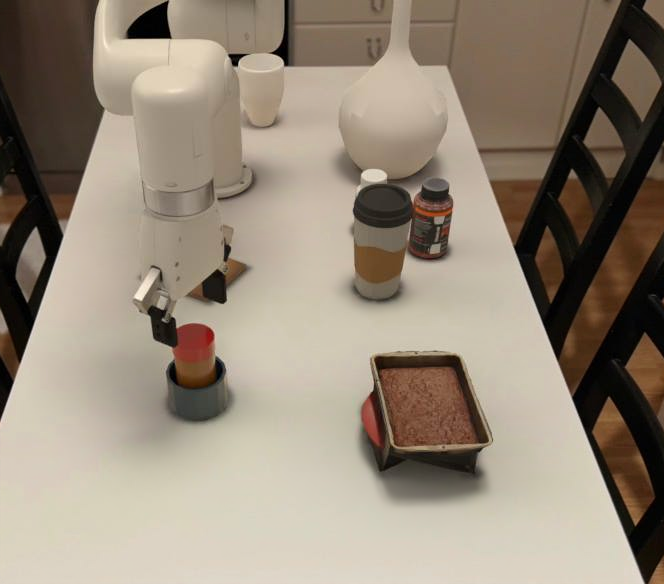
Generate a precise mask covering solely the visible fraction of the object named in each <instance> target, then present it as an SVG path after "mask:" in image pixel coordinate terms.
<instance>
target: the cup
mask: <svg viewBox="0 0 664 584" xmlns="http://www.w3.org/2000/svg"><path fill="white" fill-rule="evenodd" d="M215 360H216V374H217V382H216V383H215V384H213V385H211V386H209V387H206V388H201V389H186V388H183V387H180V386H178V385H177V379H176V370H175V361H174V359H172V361H170V362H169V363H168V365H167V367H166V370H165V378H166V386H167V388H166V389H167V394H168V395H167V396H168V401H169V406H170V407H169V408H170V409H171V410H172V412H173V413H174V414H175V415H177V416H178V417H180V418H182V419H184V420H187V421H195V422H196V421H206V420H210V419H212V418H215V417H216V416H218V415H219V414H221V413H222V412H223V411H224V410H225V409H226V407H227V405H228V401H229V390H228V389H229V387H228V373H227V367H226V363H225V362H224V361H223V360H222V359H221V358H220V357H219V356H217V355H215Z"/></svg>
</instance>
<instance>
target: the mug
mask: <svg viewBox="0 0 664 584" xmlns="http://www.w3.org/2000/svg"><path fill="white" fill-rule="evenodd" d="M237 72H238V73H237V75H238V79H239V84H240V100H241V102H242V104H243V106H244V109H245V111H246V114H247V116H248V119H249V121H250V123H251V124H252V125H253V126H255V127H258V128H264V127H265V128H266V127H270V126H271V125H273V124H274V122H275V120H276V116H277V114H278V111H279V108H280V106H281V103H282V101H283V97H284V91H285V62H284V60H283V59H282V57H280V56H278V55H277V54H273V53H262V54H246V55H245V56H243V57H241V58H240V59H239V61H238V65H237Z"/></svg>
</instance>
